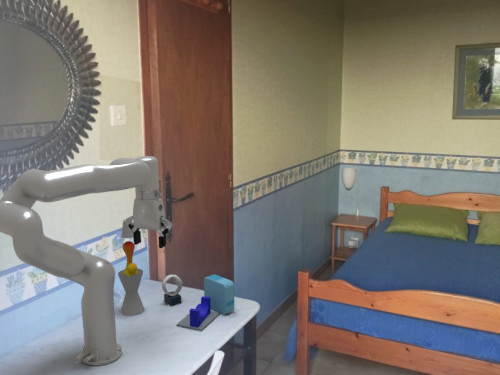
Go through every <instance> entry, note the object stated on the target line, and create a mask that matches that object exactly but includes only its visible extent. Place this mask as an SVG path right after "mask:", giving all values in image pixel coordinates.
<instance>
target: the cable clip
mask: <svg viewBox="0 0 500 375" xmlns="http://www.w3.org/2000/svg"><path fill="white" fill-rule="evenodd" d="M211 311H212V309H211V305H210V297H204V296H201V297H200V303H198V304H197V305H196V306H195V308H190V309H189V314H190V326H191V327H199V326H200V325H201V323H202V322H203V321H204V320H205V319H206V318H207V316H208V315H209V314H210V313H211Z"/></svg>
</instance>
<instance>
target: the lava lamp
mask: <svg viewBox="0 0 500 375" xmlns="http://www.w3.org/2000/svg"><path fill="white" fill-rule="evenodd" d="M126 219H127V218H125V219H123V220H122V229H121V238H122V239H132V238H133V233H132V232H131V229H130V228H129V227H128V224H127V222H126ZM135 246H136V245H134V241H130V240H127V241H125V242H124V243H123V245H122V250H123V252H124V254H125V257H126V265H125V268H124V269H122V270H120V271H119V272H117V275H118V278H119V280H120V283H121V285H122V287H123V289H124V291H125V293H124V297H123V301H122V306H121V309H120V313H122V314H121V315H123V316H126V315H127V317H132V316H133V315H134V316H137V315H141V314H142V313H144V312H145V307H144V304H143V302H142V299H141V296H140V294H139V288H140V283H141V281H142V277H143V274H144V271H143V270H142V269H141V268H138V265H137V264H136V263H135V262H133V256H134V251H135Z"/></svg>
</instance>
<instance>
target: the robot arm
mask: <svg viewBox="0 0 500 375" xmlns="http://www.w3.org/2000/svg"><path fill="white" fill-rule="evenodd" d="M133 188H135V190H134V191H135V193H134V194H135V198H134V199H133V207H132V215H131V216H129V217H127V218H125V219H126V222H127V224H128V227H129V228H130V229H131V232H132V233H133V237H132V238H133V243H134V245H135V246H137V245H138V244H141V243H142V232H141V231H140V230H147V231H148V230H149V231H156V233H158V235H159V236H158V237H157V238H158V248H159V249H163V248H164V247H166V245H167V235H168V234H169V232H170V231H171V229H172V227H173V221H172V222H171V221H170V220H168V219H167V218H166V212H165V206H164V201H163V199H162V196H163V192H160V180H159V160H158V158H157V157H155V156H153V155H151V156H150V155H142V156H137V157H133V158H131V157H130V158H128V157H126V158H125V157H124V158H123V157H120V158H116V159H114V160H112V161H111V162H110V163H109V165H104V164H103V165H102V164H100V165H99V164H79V165H73V166H69V167H63V168H59V169H53V170H42V169H37V168H30V169H28V170H26V171H24V172H22V174H21V175H20V176H19V177H17V178H16V180H15V181H14V182H13V183H12V184H11V186H10V187H9V188H8V189H7V191H6V192H5V193H4V194H3V196H1V198H0V233H2V234H4V235H6V236H7V235H8V236H10V237H11V239H12V245H13V246H12V247H13V250H14V252H15V255H16V257H17V258H18V260H20V262H23V263H25V264H27V265H28V266H31V267H34V268H36V269H39V270H40V271H42V272H44V273H47V274H49V275H51V276H54V277H57V278H62V279H66V280H69V281H71V282H73V283H76V284H78V285H80V286H82V287H83V294H82V295H81V296H82V297H81V300H80V301H81V302H80V304H81V305H80V308H81V317H82V318H81V320H82V329H83V330H82V331H83V342H84V344H83V345H84V346H82V348H81V349H82V350H81V352H80V353H79V355H76V356H75V357H74V359H73V360H74V362H75V364H80V363H81V362H82V363H83V364H85V365H89V366H104V365H107V364H111V363H113V362H114V361H117V360H118V359H119V358H121V356H122V354H123V347H122V346H121V344H119V343H118V342H117V328H116V314H115V313H116V312H115V311H116V310H115V300H114V299H115V298H114V296H115V295H114V292H115V291H114V290H115V282H116V270H115V267H114V265H113V264H112V263H111V262H110V261H108V260H107V259H106V258H103V257H100V256H97V255H94V254H90V253H88V252H85V251H83V250H80V249H78V248H76V247H74V246H72V245H70V244H68V243H64V242H61V241H60V240H55V239H52V238H50V237H48V236H46V235H45V234H44V228H43V221H42V218H41V216H40V214H39V213H38V212H37V211H36V210H35V209H33V208H32V207H33V206H34V204H35V203H36V202H42V203H55V202H59V201H64V200H67V199H68V200H69V199H72V198H76V197H80V196H86V195H90V194H101V193H109V192H117V191H118V192H119V191H125V190H130V189H133Z"/></svg>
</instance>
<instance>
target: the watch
mask: <svg viewBox="0 0 500 375" xmlns="http://www.w3.org/2000/svg"><path fill="white" fill-rule="evenodd" d="M171 278H172V280H173V282H174V283H175V284H176V285H177V288H176V289H175V291H168V290H167V287H166V283H167V282H168V281H169V280H170V279H171ZM183 285H184V283H183V281H182V279H181V278H180V277H179V276H178V275H176V274H168V275H166V276H165V277H164V278H163V280H162V282H161V288H162V291H163V292H164V293H163V302H164V303H166V304H167V305H169V306H170V307H174V306H176V305H177V306H178V305H180V304H182V296H181V295H180V292H181V291H182V288H183Z"/></svg>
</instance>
